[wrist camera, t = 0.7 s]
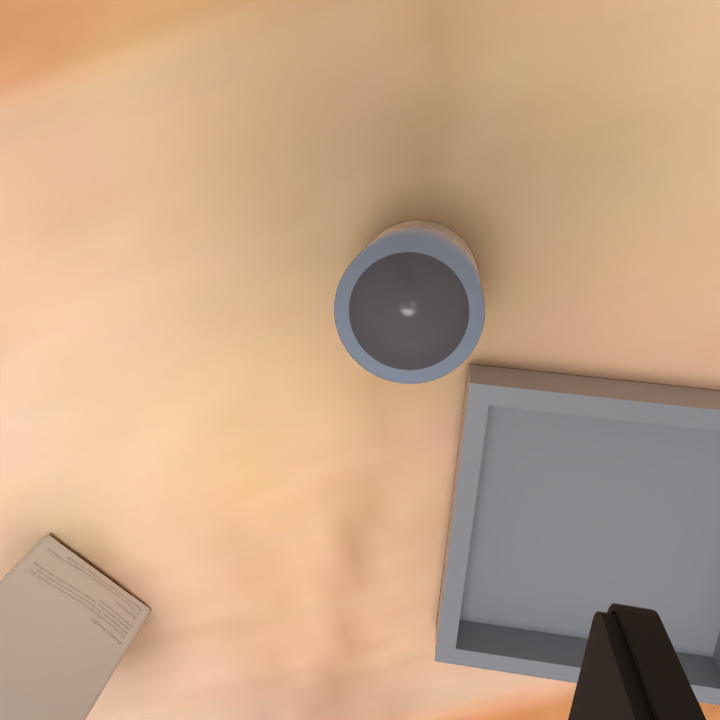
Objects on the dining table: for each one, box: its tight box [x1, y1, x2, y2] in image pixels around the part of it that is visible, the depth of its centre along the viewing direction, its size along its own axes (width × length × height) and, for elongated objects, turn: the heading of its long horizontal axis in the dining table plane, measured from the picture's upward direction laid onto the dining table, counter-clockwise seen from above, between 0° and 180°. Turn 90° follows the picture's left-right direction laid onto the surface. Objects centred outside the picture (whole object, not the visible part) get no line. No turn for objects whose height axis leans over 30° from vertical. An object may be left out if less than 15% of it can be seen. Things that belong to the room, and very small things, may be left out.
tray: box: [435, 364, 720, 705], centre depth 34 cm, size 16×16×3 cm
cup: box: [334, 220, 485, 384], centre depth 30 cm, size 6×6×7 cm
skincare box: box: [0, 535, 150, 720], centre depth 35 cm, size 8×6×15 cm
